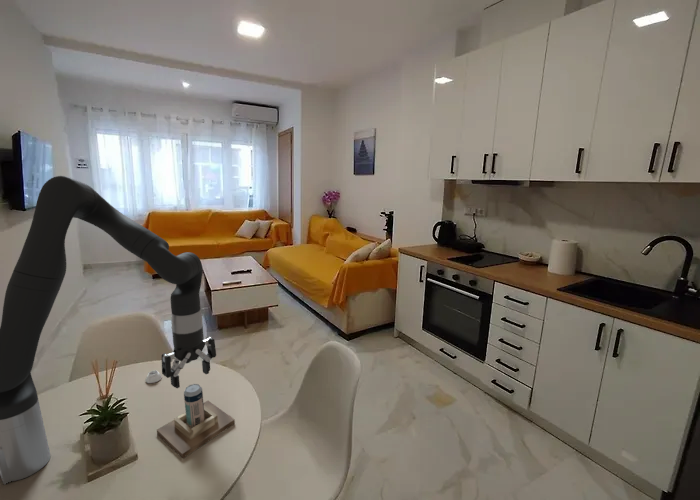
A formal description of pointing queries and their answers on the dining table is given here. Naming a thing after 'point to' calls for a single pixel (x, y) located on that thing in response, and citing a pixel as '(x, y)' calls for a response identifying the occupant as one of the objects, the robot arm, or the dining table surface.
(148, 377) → the white rounded piece
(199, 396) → the beer can
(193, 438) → the board
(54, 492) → the dining table surface
